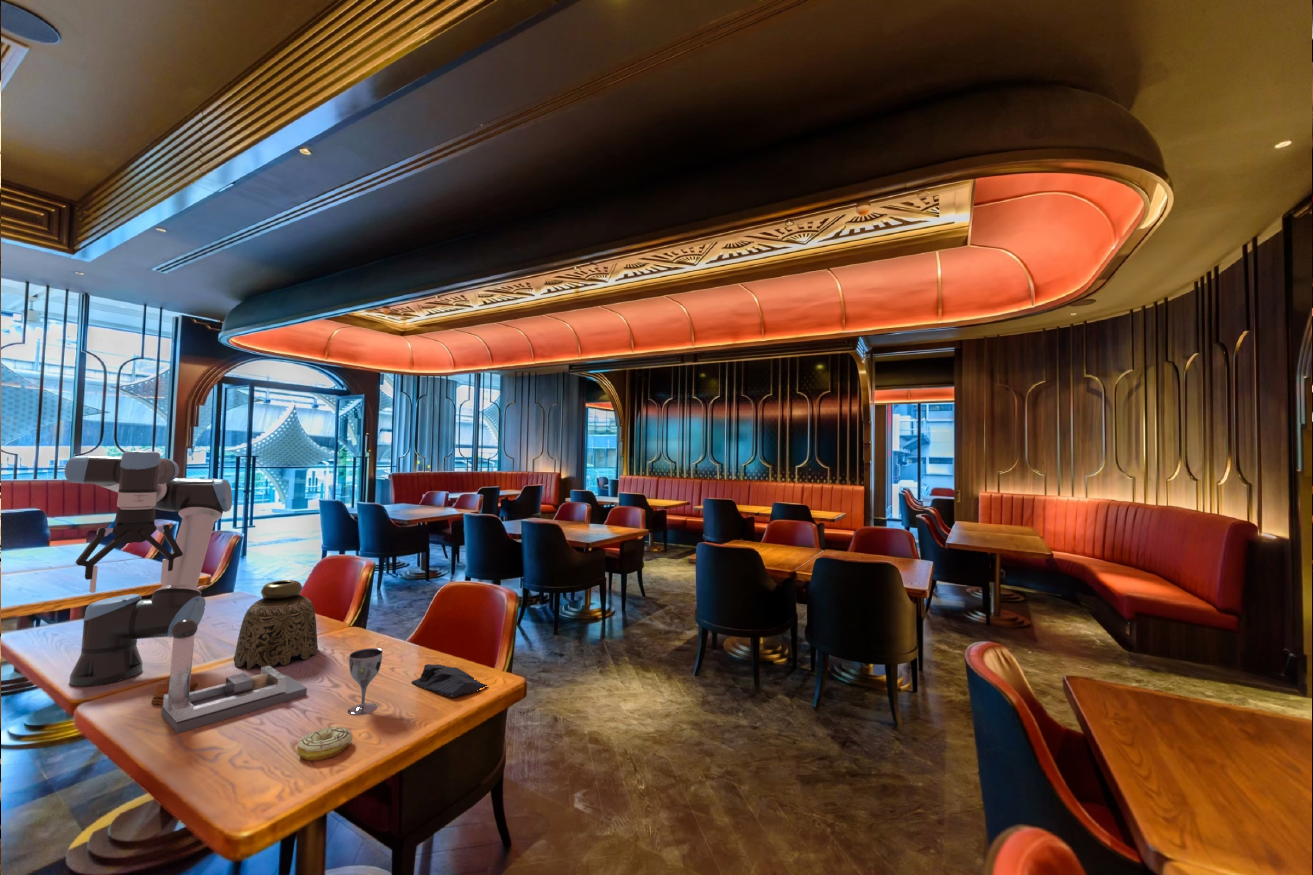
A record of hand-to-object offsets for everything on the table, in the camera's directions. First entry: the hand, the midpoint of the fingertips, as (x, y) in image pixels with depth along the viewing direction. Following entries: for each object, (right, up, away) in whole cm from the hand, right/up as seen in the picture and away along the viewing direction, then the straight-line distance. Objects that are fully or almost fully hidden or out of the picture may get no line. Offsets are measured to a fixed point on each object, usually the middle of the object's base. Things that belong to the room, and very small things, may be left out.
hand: (129, 587), depth 139 cm
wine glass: (+61, -34, +3) cm, 70 cm away
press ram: (+25, -30, +1) cm, 39 cm away
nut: (+29, -31, +7) cm, 43 cm away
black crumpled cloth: (+78, -37, +20) cm, 89 cm away
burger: (+7, -33, +5) cm, 34 cm away
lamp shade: (+12, -35, +37) cm, 52 cm away
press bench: (+27, -33, +3) cm, 42 cm away
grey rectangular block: (+27, -31, +3) cm, 41 cm away
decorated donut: (+64, -34, -18) cm, 74 cm away
